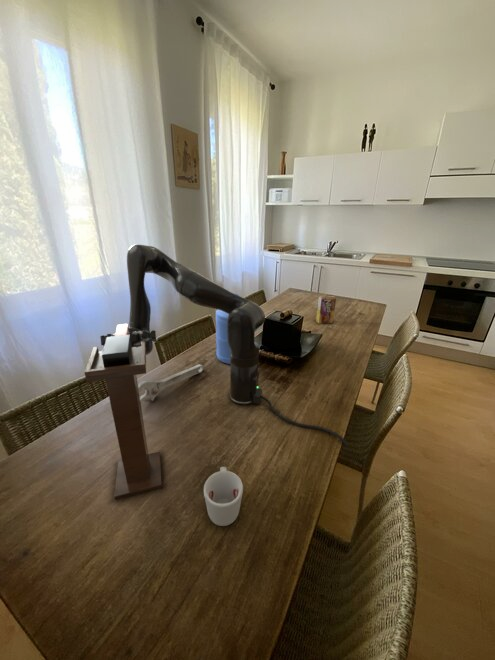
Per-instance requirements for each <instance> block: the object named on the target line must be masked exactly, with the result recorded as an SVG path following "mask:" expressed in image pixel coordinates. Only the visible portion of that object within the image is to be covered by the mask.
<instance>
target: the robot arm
mask: <svg viewBox="0 0 495 660" xmlns="http://www.w3.org/2000/svg"><path fill="white" fill-rule="evenodd" d="M126 268H127V269H126V270H127V281H128V289H129V317H128V318H129V319H128V320H129V321H128V326H129V334H128V335H130V339H131V346H132V347H139V346H141V342H145V345H146V356H147V355H150V354H151V353H152V352H153V348H154V343H153V342H156V341H157V334H156V330H154V329H153V330H151V329H150V328H151V327H150V323H151V314H152V313H151V312H152V307H151V303H150V299H149V297H148V294H147V292H146V287H145V278H146V277H145V276H146V274H154V275H157V276H158V277H161V278H163V279H164V280H166V281H168V282H169V283H170V284H171V286H172V287H173V289H174V290H175V292H176V293H177V294H178V295H180V296H181V297H182V298H184V299H187V300H188V301H189V302H191V303H193V304H195V305H198V306H200V307H205V308H208V309H215V310H221V311H224V312H226V313H228V314H229V315H228V319H227V335H228V345H229V347H230V364H229V374H230V375H229V377H230V378H229V398H230V400H231V401H232V402H233V403H235V404H237V405H241V406H242V405H243V406H247V405H252V404H253V405H254V404H256V405H257V404H258V405H260V403H261V399H262V400H264V402H266V403H267V404H268V407H269V409H270V410H271V412H273V414H274V415H276V416H277V417H278V418H280V420H283V421H285V422H287V423H289V424H292V425H295V426H297V427H301V428H307V429H308V428H309V429H314V430H320V431H323V432H326V433H328V434H331V435H332V436H335V437H336V438H338V439H339V440H340V441H341V442H342V444H343V445H344V446H345V447H348V446H349V444H348V442H347V441H346V440H345V439H344V438H343V437H342V436H341V435H340V434H339V433H337V432H336V431H333V430H331V429H327V428H325V427H323V426H319V425H312V424H305V423H300V422H297V421H294V420H291V419H289V418H286V417H285V416H283V415H281V414H280V413H278V412H277V410H275V409H274V407H273V406H272V403H271V401H270V400H269V399H268V398H267V397H266V396H263V394H262V393H263V389H262V388H259V381H260V370H259V360H260V345H259V344H258V342H257V341H255V336H256V335H255V332H256V331H257V330H259V329H260V328H261V327H262V326H263V325H264V323H265V321H266V314H265V312H264V310H263V308H262V307H261V306H260V305H259V304H258V303H256V302H254V301H252V300H249V299H247V298H245V297H242V296H240V295H239V296H238V295H236V294H237V293H234V292H231V291H229V290H228V289H227V288H225V287H223V286H221V285H219V284H218V283H216V282H214V281H212V280H210V279H209V278H207V277H206V276H204V275H202V274H200V273H199V272H197V271H195V270H193V269H191V268H189V267H188V266H186V265H183V264H181V263H179V262H177V261H175V260H174V259H173V258H171V257H170V256H168V255H167V254H166V253H165V252H163V251H162V250H161V249H159V248H157V247H155V246H151V245H145V244H133V245H131V246H130V247H129V248H128V250H127V253H126ZM111 336H115V333H113V334H112V333H107V334H106V335H103V334H102V335H100V345H101V346H103V347H104V345H105V342H106V338H107V337H111Z"/></svg>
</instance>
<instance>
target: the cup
mask: <svg viewBox="0 0 495 660" xmlns="http://www.w3.org/2000/svg"><path fill="white" fill-rule="evenodd" d="M243 493H244V485H243V482H242V480H241V478H240V476H239V475H237V474H236V473H234V472H233V471H229V470H228V469H227V466H220V468H219V471H216V472H214V473H213V474H211V475H210V476H208V478H207V479H206V481H205V482H204V485H203V496H204V502H205V507H206V512H207V515H208V518H209V519H210V521H211V522H212V523H213V524H215V525H216V526H220V527H226V526H229V525H232V524H233V523H234V522H235V521H236V520H237V518H238V516H239V514H240V509H241V505H242V504H241V503H242V498H243Z"/></svg>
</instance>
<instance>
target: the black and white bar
mask: <svg viewBox="0 0 495 660" xmlns="http://www.w3.org/2000/svg"><path fill="white" fill-rule="evenodd" d="M129 328H130V327H129V323H120V324H116V328H115V332H114V334H115V336H111V337H107V338H106V342H105V345H104V346H103V349H102V351H103V352H102V359H103V364H104V368H106V367H114V366H121V365H129V364H130V360H131V349H132V346H131V339H130V335H128V334H129Z"/></svg>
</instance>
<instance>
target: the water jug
mask: <svg viewBox="0 0 495 660" xmlns="http://www.w3.org/2000/svg"><path fill="white" fill-rule="evenodd" d="M235 294H236V295H238V296H240V294H239V293H235ZM228 315H229V314H228V313H226V312H224V311H221V310H218V309H216V311H215V341H216V352H215V353H216V355H215V356H216V358H217V359H218V360H219V361H220V362H222V363H223V364H227V365H230V347H229V345H228V335H227V319H228Z"/></svg>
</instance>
